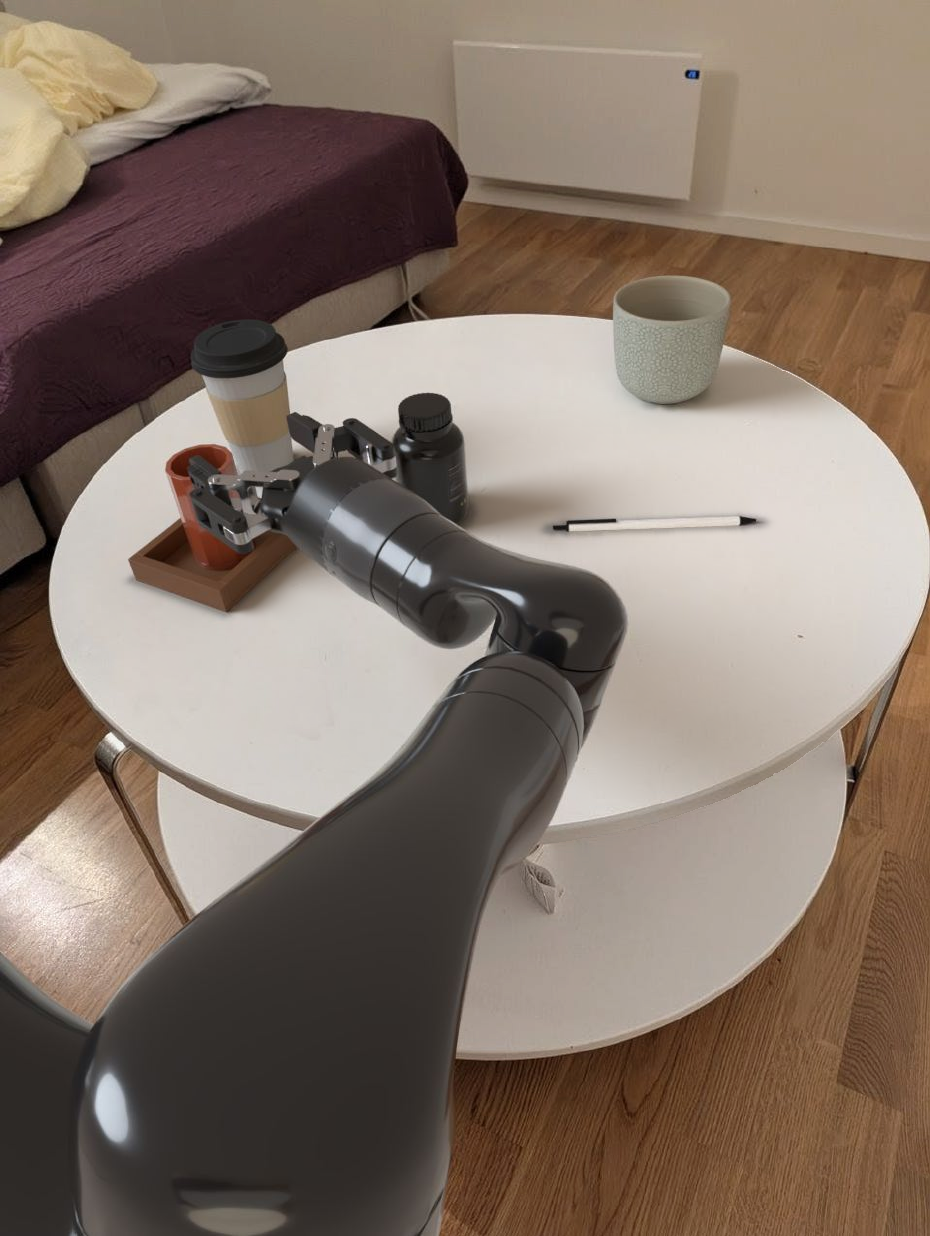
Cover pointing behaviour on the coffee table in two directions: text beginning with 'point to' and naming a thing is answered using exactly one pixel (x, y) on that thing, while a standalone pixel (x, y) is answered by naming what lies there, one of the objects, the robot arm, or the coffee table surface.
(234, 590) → the tray
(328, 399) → the coffee table surface
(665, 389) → the planter
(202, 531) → the tumbler
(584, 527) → the pen
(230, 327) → the coffee cup
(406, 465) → the supplement bottle
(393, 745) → the coffee table surface
